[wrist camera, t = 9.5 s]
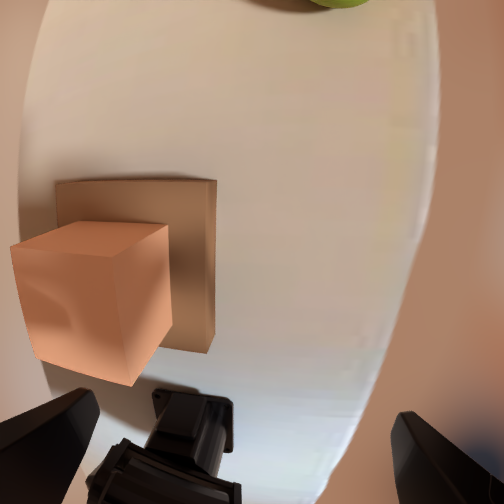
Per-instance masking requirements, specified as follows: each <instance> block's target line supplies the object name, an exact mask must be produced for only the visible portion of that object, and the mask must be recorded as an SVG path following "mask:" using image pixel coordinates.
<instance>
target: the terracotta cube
mask: <svg viewBox="0 0 504 504" xmlns="http://www.w3.org/2000/svg"><path fill="white" fill-rule="evenodd" d="M10 250H11V257H12V263H13V269H14V274H15V280H16V285H17V290H18V295H19V299H20V303H21V308H22V311H23V316H24V319H25V323H26V327H27V331H28V334H29V338H30V341H31V344H32V348H33V351H34V354H35V357H36V358H38V359H40V360H43V361H46V362H49V363H51V364H54V365H57V366H60V367H63V368H66V369H69V370H73V371H76V372H79V373H82V374H86V375H89V376H92V377H96V378H99V379H103V380H107V381H111V382H114V383H118V384H122V385H126V386H130V387H132V386H133V384H134V382H135V381H136V379H137V378H138V376H139V375H140V373H141V372H142V370H143V369H144V367H145V366H146V364H147V363H148V361H149V360H150V358H151V357H152V355H153V354H154V352H155V350H156V349H157V347H158V346H159V344H160V343H161V341H162V340H163V338H164V337H165V335H166V334H167V332H168V331H169V329H170V328H171V326H172V325H173V324H172V309H171V291H170V271H169V239H168V225H166V224H146V223H123V222H98V221H77V222H74V223H71V224H69V225H66V226H63V227H60V228H57V229H55V230H52V231H49V232H47V233H44V234H41V235H39V236H36V237H33V238H31V239H28V240H26V241H23V242H21V243H18V244H16V245H13V246H11V247H10Z"/></svg>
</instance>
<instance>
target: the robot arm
mask: <svg viewBox="0 0 504 504" xmlns="http://www.w3.org/2000/svg"><path fill="white" fill-rule="evenodd" d="M157 394H158V395H157ZM159 395H160V396H159ZM152 399H153V404H154V408H155V413H156V418H157V421H156V423H155V426H154V428H153V430H152V432H151V434H150V436H149V438H148V440H147V442H146V444H145V446H144V448H142V447H140V446H138V445H136V444H133V443H131V441H130V440H128V439H126V438H123V439H122V441H121V442H120V444H116V446H113V445H112V447H111V449H110V450H109V452H108V454H107V455H106V457H105V459H104V460H103V461H102V462H101V464H100V465H99V466H98V467H97V468H96V469H95V470H94V471H93V472H92V473H91V474H90V475H89V476H88V477H87V479H86V481H85V482H86V485H87V488H88V490H89V492H88V500H87V504H242V494H241V484H239V483H236V482H233V483H232V482H229V481H225V480H222V479H219V478H217V475H218V471H219V467H220V463H221V458H222V454H223V453H231V452H232V451H233V447H234V446H233V403H232V401H230V400H227V399H218V398H211V397H204V396H197V395H191V394H184V393H179V392H173V391H167V390H162V389H154V391H153V393H152ZM225 405H227V406H225ZM99 415H100V409H99V406H98V403H97V400H96V398H95V395H94V393H93V391H92V390H90V389H86V388H82V387H80V388H78V389H75V390H73V391H71V392H69V393H67V394H65V395H62V396H60V397H58V398H56V399H54V400H51V401H49V402H47V403H45V404H43V405H40V406H38V407H36V408H34V409H31V410H29V411H27V412H24V413H22V414H20V415H17V416H15V417H13V418H10V419H8V420H6V421H3V422H1V423H0V504H61V503H62V501H63V499H64V497H65V495H66V493H67V490H68V488H69V486H70V484H71V482H72V480H73V478H74V476H75V474H76V471H77V469H78V467H79V465H80V463H81V461H82V459H83V457H84V455H85V453H86V450H87V448H88V445H89V442H90V440H91V437H92V434H93V431H94V429H95V426H96V423H97V421H98V418H99ZM391 447H392V455H393V466H394V476H395V484H396V489H397V494H398V499H399V504H504V483H502V482H501V481H500V480H498V479H497V478H496V477H494V476H493V475H490V473H489V472H488V471H487V470H485V469H484V468H483V467H482V466H480V465H479V464H478V463H477V462H475V461H474V460H473V459H472V458H470V457H469V456H468V455H467V454H465V453H464V452H463V451H462V450H460V449H459V448H458V447H456V446H455V445H454V444H453V443H452V442H450V441H449V440H448V439H447V438H445V437H444V436H443V435H442V434H440V433H439V432H438V431H437V430H436V429H434V428H433V427H432V426H431V425H429V424H428V423H427V422H426V421H424V420H423V419H422V418H421V417H420V416H418V415H417V414H416V413H415V412H413V411H406V412H400V413H399V414H398V415H397V418H396V420H395V423H394V426H393V428H392V431H391Z"/></svg>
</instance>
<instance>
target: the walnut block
mask: <svg viewBox="0 0 504 504" xmlns="http://www.w3.org/2000/svg"><path fill="white" fill-rule="evenodd" d="M216 199H217V180H102V181H78V182H71V183H64V184H57V185H56V204H57V221H58V228H60V227H63V226H66V225H69V224H71V223H74V222H77V221H98V222H123V223H146V224H166V225H168V239H169V271H170V291H171V309H172V324H173V325H172V326H171V328H170V329H169V331H168V332H167V334H166V335H165V337H164V338H163V340H162V341H161V343H160V344H159V346H158V347H164V348H171V349H177V350H183V351H190V352H197V353H205V354H207V352H208V350H209V347H210V345H211V343H212V340H213V338H214V336H215V246H216Z"/></svg>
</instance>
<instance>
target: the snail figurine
mask: <svg viewBox="0 0 504 504" xmlns="http://www.w3.org/2000/svg"><path fill="white" fill-rule="evenodd" d="M311 1H312V2H315V3H317V4H319V5H322V6H326V7H330V8H351V7H355V6H358V5H361V4H363V3H365V2H367V1H368V0H311Z"/></svg>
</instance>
